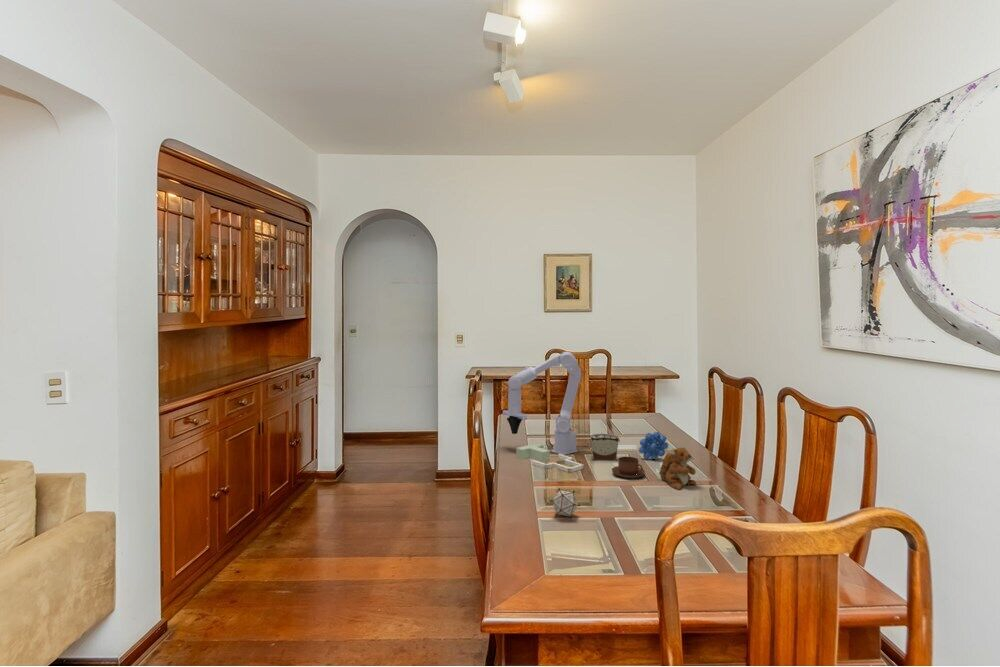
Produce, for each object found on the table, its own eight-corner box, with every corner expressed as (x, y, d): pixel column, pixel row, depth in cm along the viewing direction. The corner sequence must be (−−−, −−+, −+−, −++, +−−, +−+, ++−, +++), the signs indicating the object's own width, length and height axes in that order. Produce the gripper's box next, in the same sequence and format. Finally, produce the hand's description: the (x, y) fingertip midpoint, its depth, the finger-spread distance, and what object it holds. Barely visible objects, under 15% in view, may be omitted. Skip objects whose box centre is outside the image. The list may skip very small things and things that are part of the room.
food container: (617, 456, 217) (618, 433, 217) (619, 461, 211) (620, 437, 211) (588, 456, 218) (588, 433, 218) (589, 460, 212) (589, 436, 212)
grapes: (668, 458, 214) (668, 430, 214) (667, 463, 208) (668, 433, 208) (639, 456, 219) (640, 428, 218) (638, 460, 212) (638, 431, 212)
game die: (558, 526, 155) (546, 495, 160) (584, 515, 156) (571, 485, 160) (558, 522, 147) (545, 490, 152) (585, 511, 148) (571, 479, 153)
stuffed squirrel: (679, 490, 176) (680, 453, 175) (650, 479, 188) (651, 443, 188) (700, 486, 180) (701, 449, 179) (671, 475, 193) (671, 440, 192)
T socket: (559, 457, 217) (559, 453, 216) (590, 466, 203) (590, 463, 203) (532, 464, 207) (532, 460, 207) (562, 474, 194) (562, 470, 193)
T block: (537, 452, 225) (537, 443, 225) (556, 458, 215) (556, 448, 215) (516, 457, 217) (516, 447, 217) (535, 463, 208) (535, 453, 208)
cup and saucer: (647, 473, 195) (648, 457, 195) (640, 482, 185) (640, 465, 185) (616, 468, 201) (616, 453, 201) (608, 477, 190) (608, 461, 190)
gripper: (497, 401, 229) (497, 431, 230) (518, 406, 218) (518, 437, 219) (509, 400, 234) (509, 429, 234) (530, 404, 223) (530, 435, 223)
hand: (514, 433), depth 227 cm, fingers closed
